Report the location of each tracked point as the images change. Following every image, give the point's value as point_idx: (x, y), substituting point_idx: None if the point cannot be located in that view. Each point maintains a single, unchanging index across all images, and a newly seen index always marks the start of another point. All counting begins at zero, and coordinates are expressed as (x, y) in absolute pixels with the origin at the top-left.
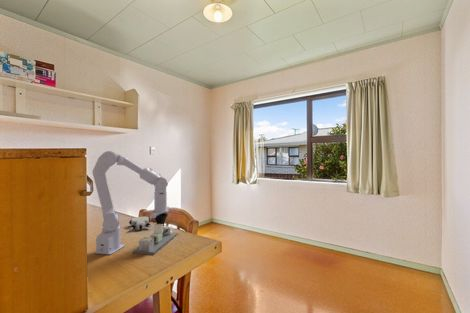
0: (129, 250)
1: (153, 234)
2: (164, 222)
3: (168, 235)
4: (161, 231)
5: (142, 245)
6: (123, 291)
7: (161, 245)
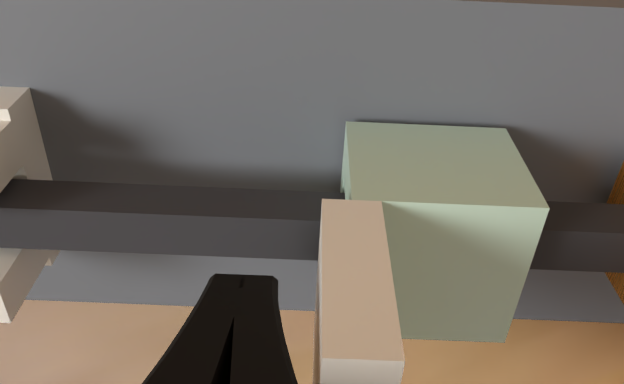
0: (619, 360)
1: (471, 311)
2: (159, 374)
3: (92, 107)
4: (382, 232)
5: None
6: None
7: (607, 25)
